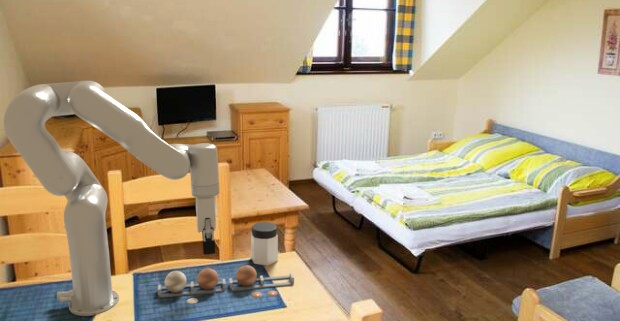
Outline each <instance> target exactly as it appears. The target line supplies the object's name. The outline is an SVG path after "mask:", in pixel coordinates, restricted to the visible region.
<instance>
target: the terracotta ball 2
mask: <svg viewBox="0 0 620 321" xmlns="http://www.w3.org/2000/svg"><path fill="white" fill-rule="evenodd" d="M256 270H257V269H255V268H254V267H253V266H251V265H250V264H244V265H242V266H240V267H239V268H238V269H237V270H236V273H235V280H237V281H238V283H237V284H239V285H240V286H253V285H254V283H256V282H255V280H256V278H258V275H257V271H256Z"/></svg>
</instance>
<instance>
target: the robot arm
mask: <svg viewBox="0 0 620 321" xmlns="http://www.w3.org/2000/svg"><path fill="white" fill-rule="evenodd" d="M70 115H75V116H77V117H79V118H80V119H81V120H83V121H84V122H86V123H88V124H89V125H91V126H92V127H94V128H95V129H97V130H98V131H100V132H101V133H103V134H105V135H106V136H107V137H109V138H111V139H112V140H114V141H115V142H117V143H118V144H119V145H120V146H121V147H123V149H125V150H126V151H128V152H129V153H130V154H131V155H132V156H133V157H135V158H136V159H137V160H139V161H140V162H141V163H143V164H144V165H146V166H147V167H149V168H150V170H151V169H152V170H153V171H155V172H156V173H157V174H159V175H161V176H163V177H164V178H166V179H169V180H174V181H176V180H181V179H183V178H185V177H186V176H187V175H188V173H190V174H189V175H190V188H191V196H192V197H193V198H195V213H196V225H197V226H196V227H197V233H201V236H202V237H201V238H202V252H203V255H204V256H205V255H214V254H216V240H215V235H214V232H215V231H216V226H217V225H216V224H217V206H216V205H217V203H216V202H217V201H216V197H217V196H219V195H220V176H219V175H220V173H219V157H218V147H217V146H216V145H215V144H213V143H209V142H207V143H206V142H203V143H202V142H201V143H194V144H187V143H186V144H184V143H167V142H166V141H165V140H163V139H161V138H160V137H159V136H158V135H157V134H156V133H154V132H153V131H152V129H150V127H149V126H148V125H147V124H146V123H145V121H144V120H143V119H142V117H141V116H139V115H138V114H137V113H135V112H134V111H132V110H131V109H130V108H128V107H126V106H125V105H123V104H122V103H121V102H119V101H117V99H115V98H113V97H112V96H110V95H109V94H107V91H106V90H105V88H104V87H103V86H102V85H101V84H100V83H98V82H96V81H94V80H79V81H70V82H69V81H68V82H67V81H66V82H54V83H42V84H36V85H33V86H30V87H28V88H26V89H24V90H22V91H20V92H19V93H17V94H16V95H15V96H14V97H13V98H12V100H11V101H10V102H9V104H8V106H7V107H6V109H5V112H4V116H3V129H4V132H5V135H6V137H7V139H8V141H9V142H10V143H11V145H12V147H14V149H15V150H16V152H17V153H18V154H19V155H20V157H21V158H22V159H23V161H24V162H25V164H26V165H27V167H28V168H29V169H30V170H31V172H32V173H33V175H34V176H35V177H36V178H37V180H38V181H39V182H40V184H41V185H42V187H43V188H44V190H45V191H47V192H48V194H49V193H50V194H52V195H53V196H57V197H63V196H64V197H65V198H66V199H67V202H66V204H65V208H64V211H63V222H64V223H63V224H64V228H65V233H66V238H67V244H68V245H67V246H68V253H69V254H68V255H69V261H70V262H69V263H70V269H71V270H70V271H71V277H72V278H71V279H72V280H71V281H72V289H69V290H67V291H64V290H63V291H56V299H57V300H59V303H67V302H68V310H69V311H70V313H71V314H73V315H76V316H81V317H91V316H97V314H101V313H103V312H106V311H109V310H111V309H113V308H114V307H116V306H117V304H118V302H119V301H120V297H119V294H118V292H116V291H114V290H113V286H112V284H113V283H112V274H111V262H110V260H111V259H110V249H109V240H108V231H107V224H106V223H107V222H106V212H107V206H108V203H109V199H108V194H107V191H106V190H105V188H104V187H103V185H102V184H101V182H100V180H99V179H98V178H97V177H96V175H95V174H94V173H93V170H91V168H90V167H89V166H88V164H87V163H86V161H84V159H83V158H82V157H81V156H80V155H79V154H77V153H75V152H73V151H70V150H64V149H63V148H61V146H60V144H59V143H58V142H57V140H56V139H55V137H54V136H53V135H52V134H51V133H50V132H49V131H48V130H47V128H46V125H45V124H46V122H47V121H48V120H49V119H51V118H52V117H59V116H70Z"/></svg>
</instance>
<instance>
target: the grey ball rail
mask: <svg viewBox="0 0 620 321" xmlns="http://www.w3.org/2000/svg"><path fill="white" fill-rule="evenodd" d="M228 279H229V281H228V284H229V289H230V290H231V291H232V292H235V291H246V290H257V289H267V288H278V287H279V288H280V287H287V286H288V287H289V286H294V284H295V276H294V274H293V273H292V272H289V274H288V275H279V276H278V275H277V276H270V277H269V276H267V277H264V275H259V277H256V280H255V282H254V283H256V282H260V284H257V285H255V284H252V285H250V286H243V285H241V286H234V284H239V283H238V281H237V279H234V280H233V278H232V277H230V278H228ZM278 280H289V282H286V281H285V282H279V283H278V282H276V283H268V284H266V283H264V282H267V281H268V282H269V281H278ZM216 286H222V287H221V288H212V289H209V290H206V289H200V290H195V288H201V287H200V286H199V284H198V283H194V281H190V283H189V284H187V283H186V286H185V287H184V289H189V288H190V291H180V292H176V293H173V292H166V293H162V291H169V290H168V289H167V288H166V287H165V285H164V286H162V284H159V283H158V285H157V296H159V298H171V297H180V296H193V295H202V294H203V295H204V294H212V293H224V292H225V290H226V289H227V284H226V279H225V278H222V280H219V281H218V283H217V285H216Z"/></svg>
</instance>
